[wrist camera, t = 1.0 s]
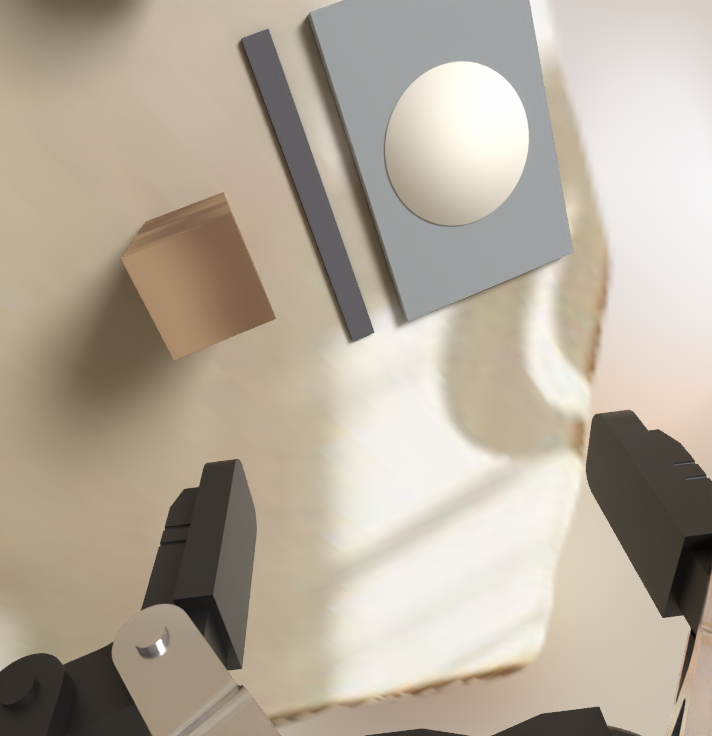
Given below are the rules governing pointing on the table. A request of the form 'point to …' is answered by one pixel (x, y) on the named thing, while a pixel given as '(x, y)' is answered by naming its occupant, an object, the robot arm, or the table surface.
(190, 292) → the square wooden post
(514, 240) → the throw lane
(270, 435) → the table surface
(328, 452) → the table surface
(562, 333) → the table surface
